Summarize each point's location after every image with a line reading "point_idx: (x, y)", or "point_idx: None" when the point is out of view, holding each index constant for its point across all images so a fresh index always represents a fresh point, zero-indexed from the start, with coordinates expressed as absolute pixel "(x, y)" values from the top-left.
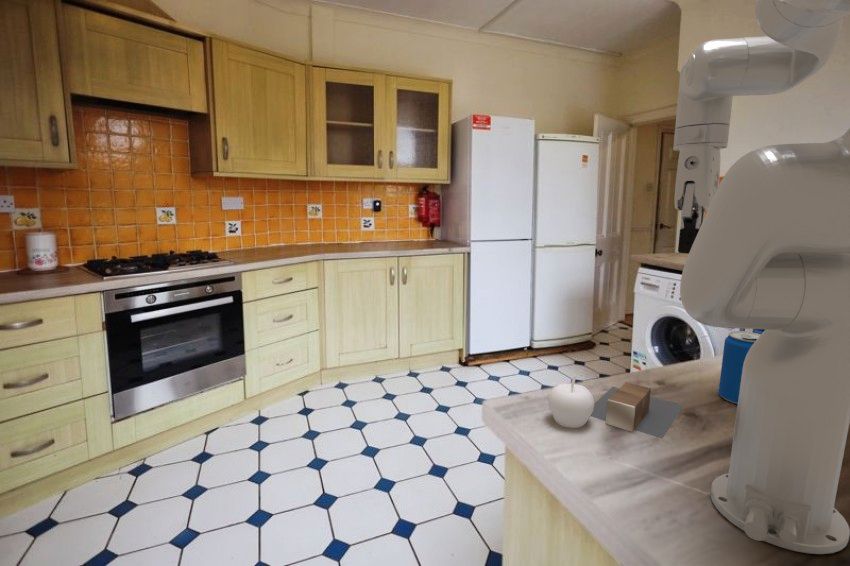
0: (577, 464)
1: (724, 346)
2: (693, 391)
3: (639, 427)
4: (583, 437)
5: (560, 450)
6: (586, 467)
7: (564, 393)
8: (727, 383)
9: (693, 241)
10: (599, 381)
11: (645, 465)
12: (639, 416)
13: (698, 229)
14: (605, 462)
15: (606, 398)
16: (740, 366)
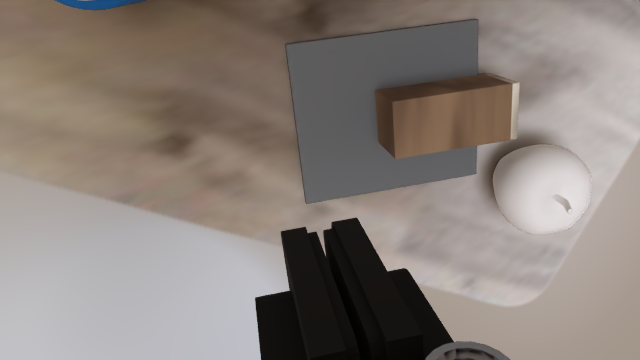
0: (633, 90)
1: (128, 2)
2: (163, 60)
3: (463, 71)
4: (549, 128)
5: (609, 131)
6: (634, 75)
7: (587, 198)
8: None
9: (424, 298)
10: None
11: (578, 6)
12: (454, 82)
13: (474, 348)
14: (605, 60)
15: (379, 180)
16: None
